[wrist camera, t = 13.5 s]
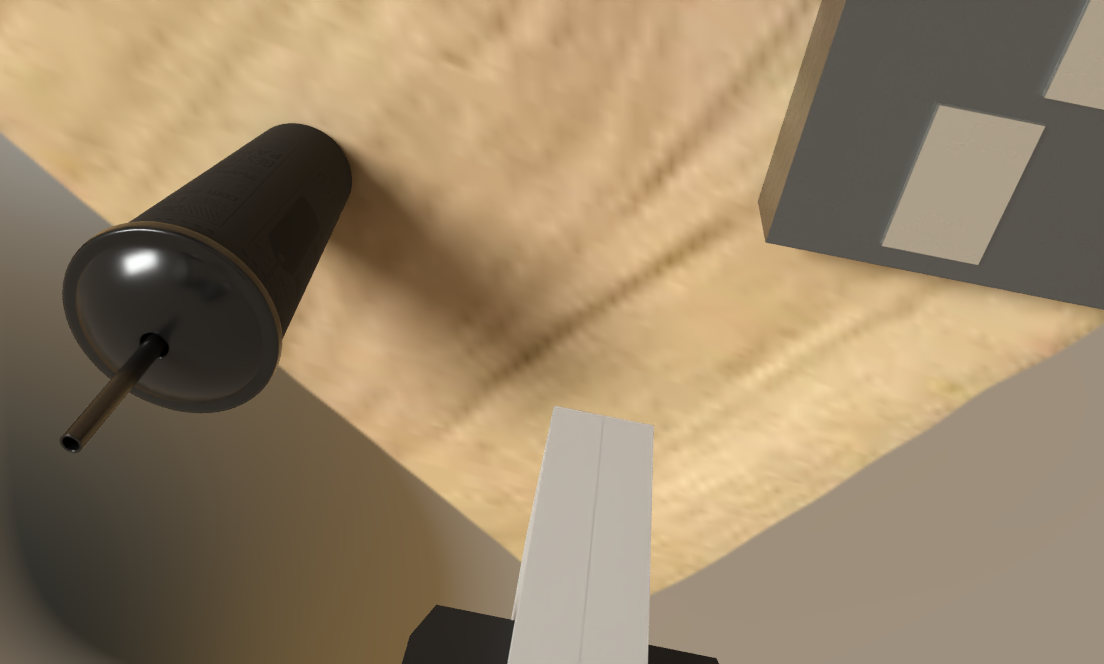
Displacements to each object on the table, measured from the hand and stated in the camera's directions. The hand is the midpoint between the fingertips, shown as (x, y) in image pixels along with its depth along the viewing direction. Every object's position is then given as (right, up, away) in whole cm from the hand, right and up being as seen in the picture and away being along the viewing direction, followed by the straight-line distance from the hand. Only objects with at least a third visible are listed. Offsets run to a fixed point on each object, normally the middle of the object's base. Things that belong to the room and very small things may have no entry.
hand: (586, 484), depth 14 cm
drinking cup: (-12, +10, +29) cm, 33 cm away
